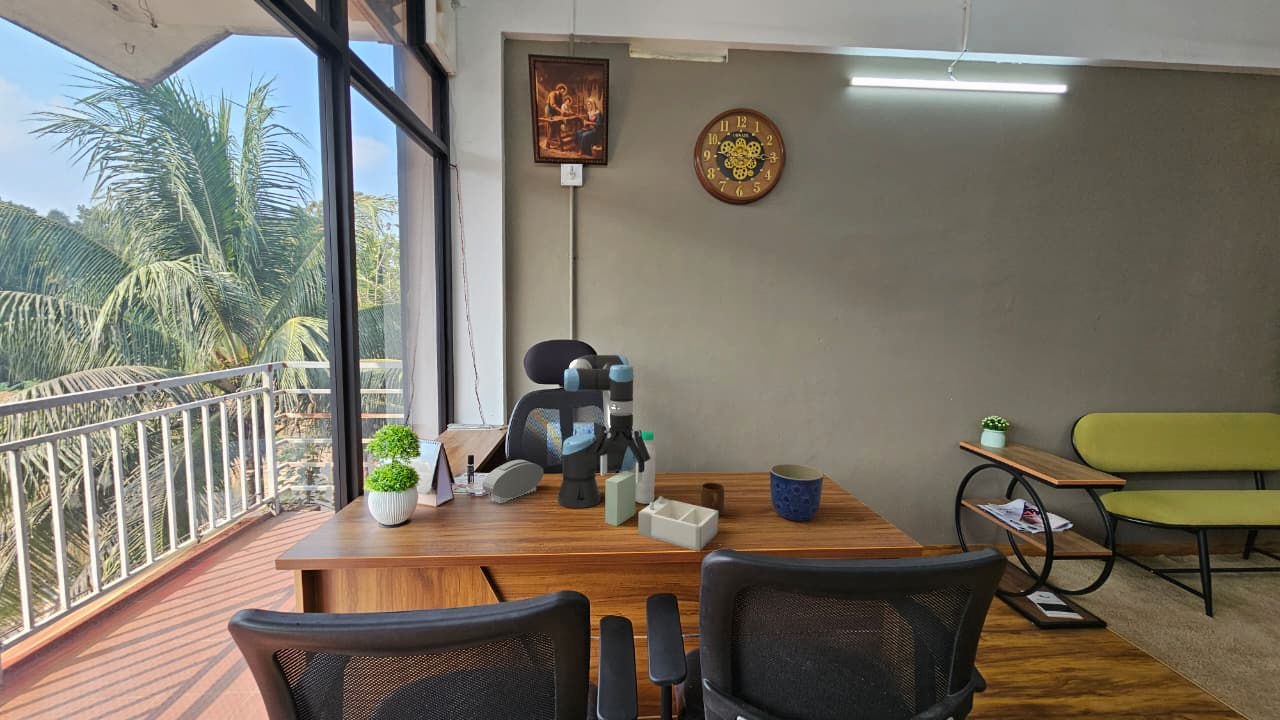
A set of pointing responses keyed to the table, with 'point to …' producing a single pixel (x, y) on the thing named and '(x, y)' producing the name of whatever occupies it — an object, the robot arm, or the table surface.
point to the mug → (713, 497)
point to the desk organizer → (678, 523)
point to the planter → (795, 490)
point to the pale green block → (620, 497)
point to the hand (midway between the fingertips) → (620, 478)
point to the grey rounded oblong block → (512, 480)
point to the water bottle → (647, 473)
